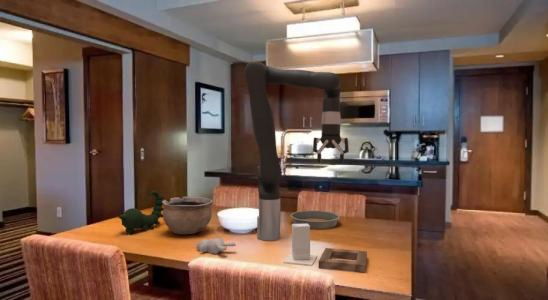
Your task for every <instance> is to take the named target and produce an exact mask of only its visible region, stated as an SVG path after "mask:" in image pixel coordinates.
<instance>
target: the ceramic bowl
mask: <svg viewBox="0 0 548 300" xmlns="http://www.w3.org/2000/svg"><path fill="white" fill-rule="evenodd" d="M169 200H170V201H167V200H166V199H163V200H162V203H163V204H162V206H163V208H164V210H163V211H162V214H163V218H162V219H163V221H164V224H165V225H166V227H167V228H168V230H170V231H172V233H174V234H177V235H183V236H184V235H193V234H197V233H201V231H203V230H204V229H205V228H206V227H207V226H208V225H209V224H210V221H211V220H212V213H213V212H212V203H213V199H211V198H208V197H199V196H182V198H181V197H172V198H171V197H170V199H169Z"/></svg>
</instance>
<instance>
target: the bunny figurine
mask: <svg viewBox="0 0 548 300" xmlns="http://www.w3.org/2000/svg"><path fill="white" fill-rule="evenodd" d="M195 246H196V247H195V248H196V249H197V250H198V251H199V252H200V253H201V252H204V253H207V252H208V253H209V254H211V255H212V254H214V255H218V253H222V252H223V251H226V250H227V247H236V242H225V241H224V240H223V238H221V237H216V238H212V239H210V238H206V239H203V240H202V241H199V242H198V243H196V244H195Z"/></svg>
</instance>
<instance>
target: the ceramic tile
mask: <svg viewBox="0 0 548 300" xmlns="http://www.w3.org/2000/svg"><path fill="white" fill-rule="evenodd" d="M317 258H318V255H317V254H316V255H315V254H310V259H304V260H294V259H293V256H292V252H290V253H289V254H288V256H286V258H285V259H284V260H283V264H289V265H297V264H299V265H298V266H307V267H308V266H309V267H313V265H314V263H315V261H316V259H317Z"/></svg>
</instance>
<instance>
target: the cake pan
mask: <svg viewBox="0 0 548 300" xmlns="http://www.w3.org/2000/svg"><path fill="white" fill-rule="evenodd" d="M289 216H290V218H292V221H293V224H308V225H309V226H310V230H323V229H325V228H326V229H331V227H332V228H334V227H336V226H337V225H338V224H337V222H338V220H339V219H340V218H341V216H340V215H339V214H337V213H335V212H331V211H326V210H300V211H296V212H295V211H294V212H292V213H291V214H290V215H289ZM309 219H323V220H328V221H309ZM326 229H325V230H326Z"/></svg>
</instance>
